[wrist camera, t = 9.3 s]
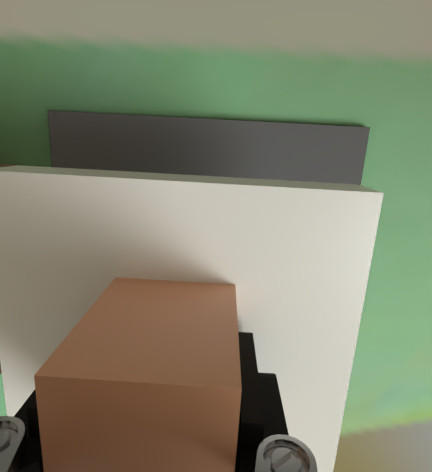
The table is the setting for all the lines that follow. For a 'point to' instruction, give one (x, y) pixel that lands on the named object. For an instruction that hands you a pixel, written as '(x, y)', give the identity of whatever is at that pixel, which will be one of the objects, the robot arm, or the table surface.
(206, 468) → the lid
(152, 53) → the table surface
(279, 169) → the mat
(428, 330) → the table surface
